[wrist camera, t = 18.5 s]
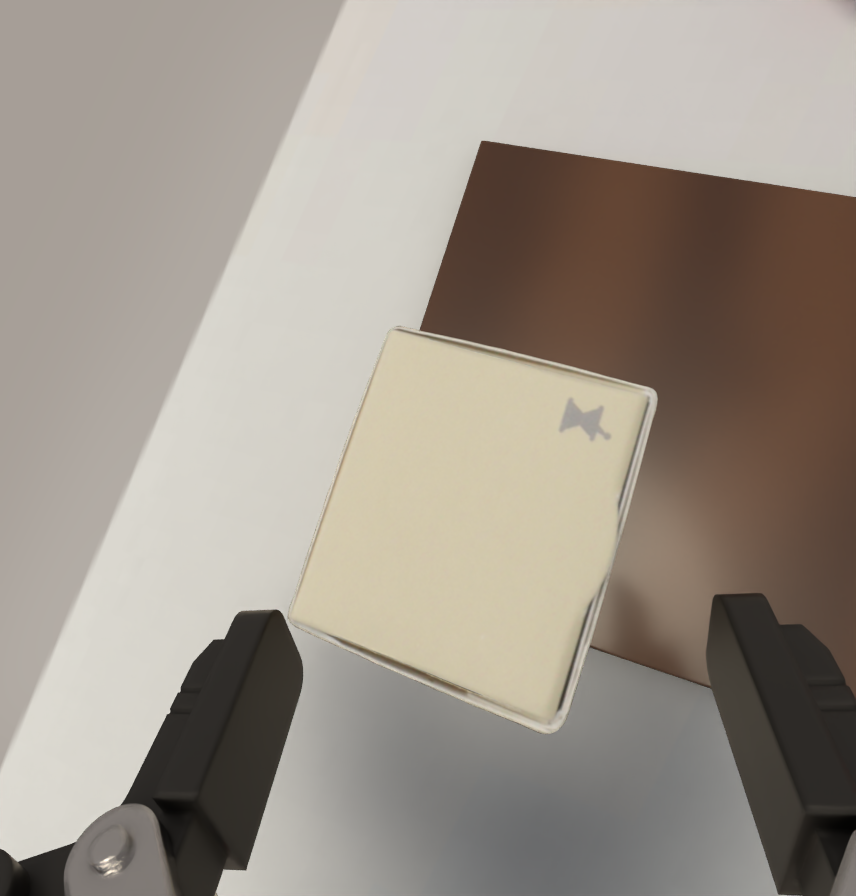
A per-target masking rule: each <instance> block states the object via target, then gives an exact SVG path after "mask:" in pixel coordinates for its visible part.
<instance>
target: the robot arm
mask: <svg viewBox="0 0 856 896" xmlns="http://www.w3.org/2000/svg"><path fill="white" fill-rule="evenodd" d="M706 661H707V670H708V676H709V680H710V684H711V688H712V691H713V694H714V697H715V700H716V703H717V706H718V709H719V712H720V716H721V719H722V722H723V725H724V728H725V731H726V734H727V737H728V740H729V743H730V746H731V749H732V753H733V756H734V759H735V762H736V765H737V768H738V771H739V774H740V777H741V780H742V783H743V786H744V790H745V793H746V796H747V799H748V802H749V805H750V808H751V811H752V814H753V817H754V820H755V823H756V826H757V830H758V833H759V836H760V839H761V842H762V845H763V848H764V851H765V854H766V857H767V860H768V863H769V867H770V870H771V873H772V876H773V879H774V882H775V885H776V888H777V891H778V894H779V895H802V896H856V698H855V696H854V694H853V692H852V691H851V689H850V687H849V686H847V685H846V679H845V678H844V676H843V674H842V672H841V670H840V668H839V666H838V665H837V663H836V661H835V659H834V657H833V655H832V653H831V652H830V650H829V649H828V648H827V647H826V646H825V645H824V644H823V643H822V642H821V641H820V640H819V639H818V638H816V637H815V636H814V635H813V634H812V633H811V632H810V631H809V630H808V629H807V628H806V627H805V626H803V625H802V624H783V625H779V623H778V620H777V618H776V616H775V614H774V612H773V610H772V608H771V606H770V604H769V602H768V600H767V598H766V597H765V596H764V595H763V594H762V593H742V594H716V595H714V597H713V600H712V608H711V616H710V624H709V632H708V640H707V648H706ZM302 683H303V665H302V660H301V657H300V654H299V652H298V650H297V647H296V645H295V642H294V640H293V638H292V635H291V633H290V631H289V628H288V626H287V624H286V621H285V619H284V616H283V615H282V613H281V612H280V611H279V610H256V611H241V612H239V613H238V614H237V615H236V616H235V618H234V620H233V622H232V624H231V626H230V628H229V631H228V633H227V635H226V637H225V639H221V640H213V641H212V642H211V643H210V644H209V646H208V647H207V648H206V649H205V650H204V651H203V652H202V653H201V654H200V655H199V656H198V657H197V659H196V660H195V661H194V662H193V663H192V665H191V668H190V670H189V672H188V674H187V676H186V678H185V680H184V682H183V684H182V686H181V692H180V693H178V694H177V696H176V698H175V700H174V702H173V704H172V706H171V708H170V710H171V711H170V714H167V716H166V718H165V720H164V722H163V724H162V726H161V728H160V730H159V732H158V734H157V736H156V738H155V740H154V742H153V744H152V746H151V748H150V751H149V753H148V755H147V757H146V759H145V761H144V763H143V765H142V767H141V769H140V771H139V773H138V775H137V777H136V779H135V781H134V783H133V785H132V787H131V789H130V791H129V793H128V795H127V796H126V798H125V800H124V801H123V803H122V804H121V806H119V807H116V808H114V809H112V810H110V811H108V812H106V813H105V814H103V815H102V816H100V817H99V818H98V819H96V820H95V821H94V822H93V823H92V824H91V825H90V826H89V827H88V828H87V829H86V830H85V831H84V832H83V833H82V835H81V836H80V837H79V838H78V840H77V842H75V843H72V844H70V845H67V846H64V847H61V848H58V849H55V850H52V851H49V852H46V853H43V854H40V855H37V856H34V857H31V858H28V859H25V860H22V861H19V862H17V861H16V860H15V859H13V858H12V857H11V856H10V855H9V854H8V853H7V852H5V851H4V850H2V849H0V896H218V895H217V893H216V890H217V887H218V884H219V881H220V878H221V875H222V872H223V869H225V870H246V869H247V865H248V862H249V859H250V856H251V852H252V849H253V846H254V843H255V839H256V836H257V833H258V829H259V826H260V823H261V820H262V816H263V813H264V810H265V807H266V803H267V800H268V797H269V794H270V790H271V787H272V784H273V781H274V777H275V774H276V771H277V768H278V764H279V761H280V758H281V755H282V751H283V748H284V745H285V741H286V738H287V735H288V732H289V728H290V725H291V722H292V719H293V715H294V712H295V709H296V706H297V702H298V699H299V696H300V693H301V689H302Z"/></svg>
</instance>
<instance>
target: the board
mask: <svg viewBox="0 0 856 896" xmlns="http://www.w3.org/2000/svg"><path fill="white" fill-rule="evenodd" d="M419 331H423V332H428V333H433V334H438V335H443V336H448V337H453V338H457V339H462V340H466V341H470V342H474V343H478V344H482V345H486V346H491V347H496V348H501V349H505V350H508V351H511V352H516V353H520V354H524V355H528V356H532V357H536V358H540V359H543V360H548V361H552V362H556V363H560V364H564V365H568V366H572V367H575V368H579V369H583V370H587V371H590V372H593V373H597V374H600V375H604V376H607V377H611V378H615V379H619V380H623V381H626V382H630V383H634V384H638V385H642V386H646V387H649V388H652V389H654V390H655V391H656V393H657V397H658V400H657V407H656V412H655V415H654V418H653V421H652V425H651V428H650V432H649V436H648V439H647V443H646V447H645V451H644V454H643V458H642V462H641V466H640V469H639V473H638V477H637V481H636V484H635V488H634V492H633V496H632V499H631V503H630V507H629V511H628V514H627V518H626V522H625V526H624V529H623V533H622V536H621V540H620V543H619V547H618V550H617V554H616V557H615V561H614V564H613V567H612V571H611V574H610V578H609V581H608V585H607V588H606V592H605V595H604V599H603V602H602V605H601V609H600V612H599V616H598V619H597V623H596V626H595V630H594V633H593V637H592V640H591V643H590V648H593V649H596V650H599V651H602V652H605V653H608V654H611V655H614V656H617V657H620V658H623V659H626V660H629V661H632V662H634V663H637V664H640V665H643V666H646V667H649V668H652V669H655V670H658V671H661V672H664V673H667V674H670V675H673V676H676V677H679V678H682V679H685V680H688V681H690V682H693V683H696V684H699V685H702V686H705V687H708V688H711V684H710V680H709V676H708V670H707V661H706V648H707V640H708V632H709V624H710V616H711V608H712V600H713V597H714V595H716V594H742V593H762V594H763V595H764V596H765V597H766V598H767V600H768V602H769V604H770V606H771V608H772V610H773V612H774V614H775V616H776V618H777V620H778V623H779V625H783V624H802V625H803V626H805V627H806V628H807V629H808V630H809V631H810V632H811V633H812V634H813V635H814V636H815V637H816V638H818V639H819V640H820V641H821V642H822V643H823V644H824V645H825V646H826V647H827V648H828V649H829V650H830V652H831V653H832V655H833V657H834V659H835V661H836V663H837V665H838V666H839V668H840V670H841V672H842V674H843V676H844V678H845V679H846V685H847V686H849V687H850V689H851V691H852V692H853V694H854V696H855V698H856V197H851V196H844V195H838V194H831V193H824V192H818V191H811V190H805V189H798V188H792V187H785V186H778V185H772V184H765V183H759V182H752V181H746V180H739V179H732V178H726V177H719V176H713V175H706V174H699V173H693V172H686V171H680V170H673V169H667V168H660V167H653V166H647V165H640V164H634V163H627V162H621V161H614V160H607V159H601V158H594V157H588V156H581V155H574V154H568V153H561V152H555V151H548V150H542V149H535V148H528V147H522V146H515V145H509V144H502V143H495V142H489V141H481V144H480V147H479V150H478V153H477V156H476V159H475V162H474V165H473V168H472V171H471V174H470V177H469V180H468V183H467V186H466V190H465V193H464V196H463V199H462V202H461V205H460V208H459V211H458V214H457V217H456V220H455V223H454V226H453V229H452V232H451V235H450V239H449V242H448V245H447V248H446V251H445V254H444V257H443V260H442V263H441V266H440V269H439V272H438V275H437V278H436V281H435V284H434V288H433V291H432V294H431V297H430V300H429V303H428V306H427V309H426V312H425V315H424V318H423V321H422V324H421V327H420V330H419ZM711 689H712V688H711Z"/></svg>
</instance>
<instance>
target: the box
mask: <svg viewBox="0 0 856 896" xmlns="http://www.w3.org/2000/svg"><path fill="white" fill-rule="evenodd" d="M657 400H658V397H657V393H656V391H655V390H654V389H652V388H649V387H646V386H642V385H638V384H634V383H630V382H626V381H623V380H619V379H615V378H611V377H607V376H604V375H600V374H597V373H593V372H590V371H587V370H583V369H579V368H575V367H572V366H568V365H564V364H560V363H556V362H552V361H548V360H543V359H540V358H536V357H532V356H528V355H524V354H520V353H516V352H511V351H508V350H505V349H501V348H496V347H491V346H486V345H482V344H478V343H474V342H470V341H466V340H462V339H457V338H453V337H448V336H443V335H438V334H433V333H428V332H423V331H419V330H416V329H412V328H407V327H402V326H396V327H394V328H391V329H390V330H389V332H388V333H387V335H386V338H385V340H384V342H383V345H382V348H381V350H380V353H379V356H378V358H377V360H376V363H375V365H374V368H373V371H372V374H371V376H370V379H369V382H368V384H367V387H366V389H365V392H364V394H363V397H362V399H361V402H360V405H359V408H358V411H357V414H356V416H355V418H354V421H353V424H352V427H351V430H350V432H349V435H348V438H347V440H346V443H345V446H344V449H343V451H342V454H341V457H340V460H339V463H338V466H337V469H336V472H335V475H334V478H333V481H332V484H331V486H330V489H329V492H328V494H327V497H326V500H325V503H324V506H323V510H322V513H321V516H320V519H319V522H318V525H317V527H316V530H315V533H314V536H313V539H312V542H311V545H310V548H309V551H308V554H307V557H306V560H305V563H304V566H303V569H302V572H301V576H300V579H299V582H298V585H297V588H296V592H295V595H294V597H293V600H292V602H291V605H290V608H289V613H288V619H289V621H290V623H292V624H293V625H294V626H295V627H297V628H299V629H301V630H303V631H305V632H307V633H309V634H312V635H314V636H316V637H318V638H320V639H323V640H325V641H327V642H329V643H331V644H334V645H336V646H338V647H340V648H343V649H345V650H347V651H350V652H352V653H354V654H356V655H358V656H361V657H363V658H365V659H367V660H369V661H371V662H373V663H375V664H378V665H380V666H382V667H384V668H387V669H390V670H392V671H395V672H397V673H399V674H401V675H404V676H406V677H408V678H410V679H413V680H415V681H417V682H420V683H422V684H424V685H426V686H428V687H431V688H433V689H435V690H438V691H440V692H443V693H445V694H448V695H450V696H453V697H455V698H457V699H460V700H462V701H464V702H466V703H468V704H471V705H473V706H476V707H478V708H481V709H483V710H486V711H488V712H491V713H493V714H495V715H498V716H500V717H503V718H505V719H508V720H510V721H513V722H515V723H518V724H520V725H522V726H525V727H527V728H529V729H531V730H534V731H536V732H538V733H542V734H550V733H554V732H556V731H557V730H558V729H559V728H561V727H562V725H563V724H564V723H565V721H566V719H567V716H568V713H569V710H570V707H571V704H572V701H573V697H574V694H575V691H576V688H577V685H578V682H579V678H580V675H581V672H582V669H583V666H584V663H585V659H586V656H587V653H588V650H589V647H590V643H591V640H592V637H593V633H594V630H595V626H596V623H597V619H598V616H599V612H600V609H601V605H602V602H603V599H604V595H605V592H606V588H607V585H608V581H609V578H610V574H611V571H612V567H613V564H614V561H615V557H616V554H617V550H618V547H619V543H620V540H621V536H622V533H623V529H624V526H625V522H626V518H627V514H628V511H629V507H630V503H631V499H632V496H633V492H634V488H635V484H636V481H637V477H638V473H639V469H640V466H641V462H642V458H643V454H644V451H645V447H646V443H647V439H648V436H649V432H650V428H651V425H652V421H653V418H654V415H655V412H656V407H657Z"/></svg>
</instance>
